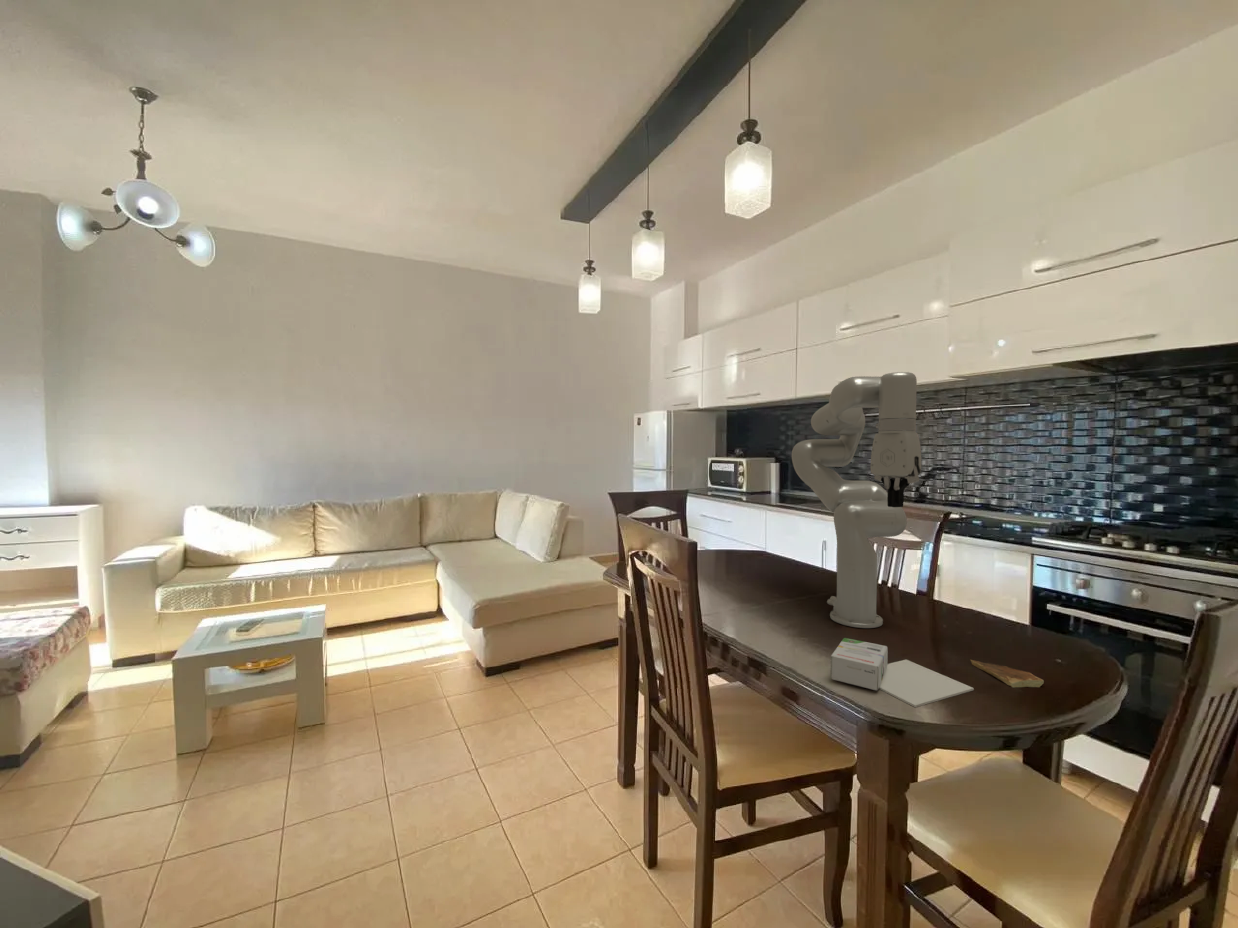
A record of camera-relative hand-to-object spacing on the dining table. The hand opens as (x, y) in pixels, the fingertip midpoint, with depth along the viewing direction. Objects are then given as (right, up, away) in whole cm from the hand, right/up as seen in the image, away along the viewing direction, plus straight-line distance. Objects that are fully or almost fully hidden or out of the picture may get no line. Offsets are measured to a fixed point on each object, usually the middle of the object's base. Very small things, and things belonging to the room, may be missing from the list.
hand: (895, 506), depth 118 cm
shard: (+13, -33, -16) cm, 39 cm away
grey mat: (-7, -33, -18) cm, 38 cm away
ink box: (-12, -30, -11) cm, 34 cm away
